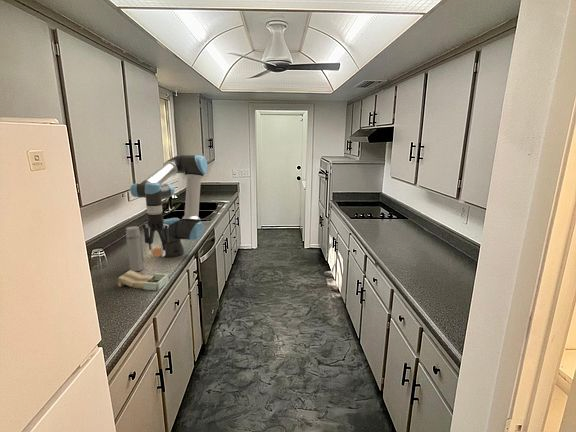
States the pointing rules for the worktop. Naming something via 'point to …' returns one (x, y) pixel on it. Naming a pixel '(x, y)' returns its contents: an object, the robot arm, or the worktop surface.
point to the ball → (157, 251)
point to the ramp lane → (134, 279)
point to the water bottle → (134, 248)
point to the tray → (156, 286)
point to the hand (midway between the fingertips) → (158, 255)
